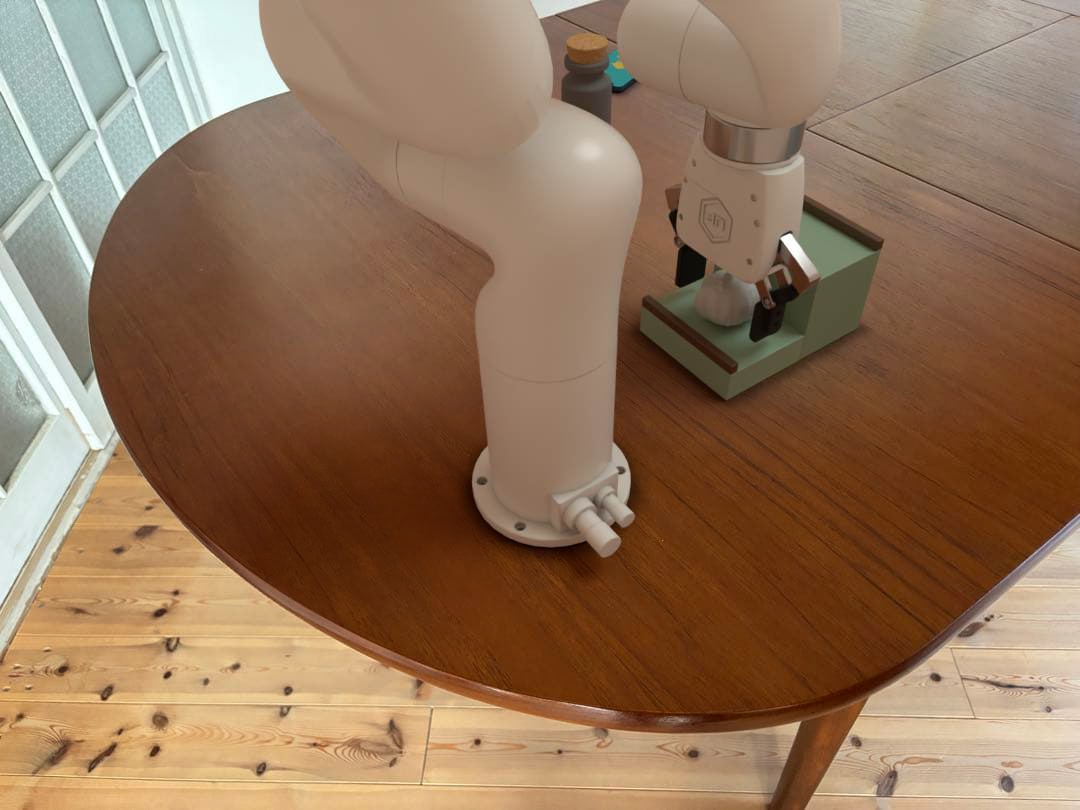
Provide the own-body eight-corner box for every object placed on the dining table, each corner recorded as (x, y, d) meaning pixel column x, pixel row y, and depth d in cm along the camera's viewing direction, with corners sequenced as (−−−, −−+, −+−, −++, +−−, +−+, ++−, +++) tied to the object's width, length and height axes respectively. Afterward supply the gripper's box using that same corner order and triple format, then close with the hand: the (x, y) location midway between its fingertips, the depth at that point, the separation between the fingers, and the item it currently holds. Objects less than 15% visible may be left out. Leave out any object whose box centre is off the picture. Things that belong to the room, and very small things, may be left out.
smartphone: (670, 49, 128) (621, 86, 119) (669, 54, 128) (621, 92, 119) (626, 40, 131) (576, 76, 122) (626, 46, 131) (576, 82, 122)
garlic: (711, 343, 76) (718, 296, 72) (682, 309, 80) (687, 262, 76) (769, 326, 78) (779, 279, 74) (738, 293, 81) (745, 247, 78)
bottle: (553, 169, 105) (551, 46, 94) (574, 148, 109) (575, 27, 98) (597, 180, 103) (599, 55, 92) (617, 158, 106) (621, 35, 96)
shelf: (858, 328, 82) (884, 239, 75) (726, 400, 75) (741, 310, 68) (767, 268, 89) (783, 182, 82) (639, 330, 82) (645, 242, 75)
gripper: (643, 103, 69) (632, 276, 81) (803, 191, 59) (764, 375, 71) (712, 79, 72) (692, 250, 84) (876, 159, 62) (827, 341, 74)
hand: (725, 307), depth 78 cm, fingers open, 9 cm apart
